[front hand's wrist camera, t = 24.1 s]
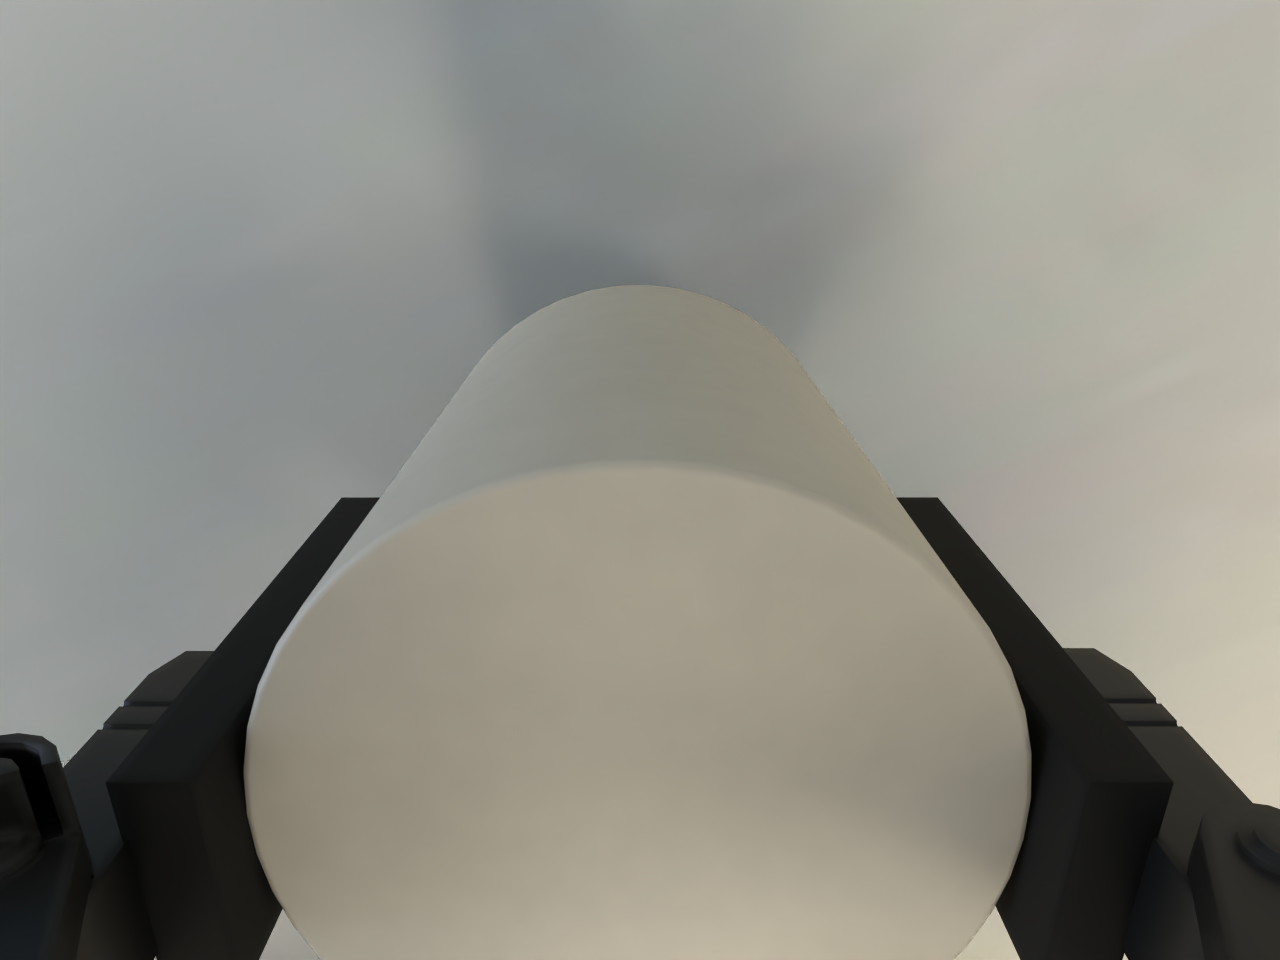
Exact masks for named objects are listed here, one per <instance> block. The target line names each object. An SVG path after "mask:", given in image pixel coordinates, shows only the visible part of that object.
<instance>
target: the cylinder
mask: <svg viewBox="0 0 1280 960" xmlns="http://www.w3.org/2000/svg"><path fill="white" fill-rule="evenodd" d="M1031 766H1032V752H1031V745H1030V739H1029V732H1028V726H1027V719H1026V713H1025V709H1024V706H1023V703H1022V700H1021V697H1020V694H1019V691H1018V688H1017V685H1016V682H1015V679H1014V676H1013V673H1012V670H1011V667H1010V666H1009V664H1008V662H1007V660H1006V658H1005V656H1004V654H1003V652H1002V651H1001V649H1000V647H999V645H998V643H997V641H996V639H995V637H994V636H993V634H992V632H991V630H990V628H989V627H988V625H987V624H986V622H985V621H984V620H983V618H982V617H981V615H980V614H979V613H978V611H977V610H976V608H975V607H974V606H973V604H972V603H971V601H970V600H969V599H968V597H967V596H966V594H965V593H964V592H963V590H962V589H961V588H960V586H959V585H958V583H957V582H956V581H955V579H954V578H953V576H952V575H951V574H950V572H949V571H948V569H947V568H946V567H945V565H944V564H943V562H942V561H941V560H940V558H939V557H938V555H937V554H936V553H935V551H934V550H933V548H932V547H931V546H930V544H929V543H928V541H927V540H926V539H925V537H924V536H923V534H922V533H921V532H920V530H919V529H918V528H917V526H916V525H915V523H914V522H913V521H912V519H911V518H910V516H909V515H908V514H907V512H906V511H905V509H904V508H903V507H902V505H901V504H900V502H899V501H898V500H897V498H896V497H895V495H894V494H893V493H892V491H891V490H890V488H889V487H888V486H887V484H886V483H885V481H884V480H883V479H882V477H881V476H880V474H879V473H878V472H877V470H876V469H875V468H874V466H873V465H872V463H871V462H870V461H869V459H868V458H867V456H866V455H865V454H864V452H863V451H862V449H861V448H860V447H859V445H858V444H857V442H856V441H855V440H854V438H853V437H852V435H851V434H850V433H849V431H848V430H847V428H846V427H845V426H844V424H843V423H842V421H841V420H840V419H839V417H838V416H837V414H836V413H835V412H834V410H833V409H832V408H831V406H830V405H829V403H828V402H827V401H826V399H825V398H824V396H823V395H822V394H821V392H820V391H819V389H818V388H817V387H816V385H815V384H814V382H813V381H812V380H811V378H810V377H809V375H808V374H807V373H806V371H805V370H804V369H803V367H802V366H801V365H800V363H799V362H798V361H797V359H796V358H795V357H794V355H793V354H792V353H791V352H790V351H789V350H788V349H787V348H786V347H785V346H784V345H783V344H782V343H781V342H780V341H779V340H778V339H777V338H776V337H775V336H774V335H773V334H772V333H771V332H770V331H768V330H767V329H766V328H764V327H763V326H762V325H760V324H759V323H758V322H756V321H755V320H754V319H752V318H751V317H749V316H747V315H746V314H744V313H742V312H740V311H738V310H737V309H735V308H733V307H731V306H729V305H728V304H725V303H723V302H720V301H718V300H715V299H712V298H710V297H707V296H705V295H702V294H698V293H694V292H690V291H686V290H682V289H678V288H672V287H663V286H654V285H620V286H613V287H607V288H601V289H594V290H590V291H586V292H583V293H580V294H577V295H573V296H570V297H567V298H564V299H562V300H559V301H557V302H555V303H553V304H551V305H548V306H546V307H544V308H542V309H540V310H538V311H537V312H535V313H534V314H532V315H530V316H529V317H527V318H526V319H524V320H522V321H521V322H519V323H518V324H516V325H515V326H514V327H513V328H512V329H511V330H509V331H508V332H507V333H506V334H505V335H503V336H502V337H501V338H500V339H499V340H497V341H496V343H495V344H494V345H493V346H492V347H491V348H490V349H489V350H488V352H487V353H486V354H485V355H484V356H483V357H482V358H481V359H480V361H479V362H478V363H477V365H476V366H475V367H474V369H473V370H472V372H471V373H470V374H469V376H468V377H467V378H466V380H465V381H464V383H463V384H462V385H461V387H460V388H459V390H458V391H457V392H456V394H455V395H454V396H453V398H452V399H451V401H450V402H449V403H448V405H447V406H446V407H445V409H444V410H443V412H442V413H441V414H440V416H439V417H438V418H437V420H436V421H435V423H434V424H433V425H432V427H431V428H430V430H429V431H428V432H427V434H426V435H425V436H424V438H423V439H422V441H421V442H420V443H419V445H418V446H417V447H416V449H415V450H414V452H413V453H412V454H411V456H410V457H409V459H408V460H407V461H406V463H405V464H404V465H403V467H402V468H401V470H400V471H399V472H398V474H397V475H396V476H395V478H394V479H393V481H392V482H391V483H390V485H389V486H388V488H387V489H386V490H385V492H384V493H383V494H382V496H381V497H380V499H379V500H378V501H377V503H376V504H375V505H374V507H373V508H372V510H371V511H370V512H369V514H368V515H367V517H366V518H365V519H364V521H363V522H362V523H361V525H360V526H359V528H358V529H357V530H356V532H355V533H354V534H353V536H352V537H351V539H350V540H349V541H348V543H347V544H346V546H345V547H344V548H343V550H342V551H341V552H340V554H339V555H338V557H337V558H336V559H335V561H334V562H333V563H332V565H331V566H330V568H329V569H328V570H327V572H326V573H325V575H324V576H323V577H322V579H321V580H320V581H319V583H318V584H317V586H316V587H315V588H314V590H313V591H312V592H311V594H310V595H309V597H308V598H307V599H306V601H305V602H304V603H303V605H302V606H301V608H300V609H299V611H298V612H297V614H296V615H295V617H294V618H293V620H292V621H291V623H290V625H289V626H288V628H287V629H286V631H285V632H284V634H283V635H282V637H281V638H280V640H279V641H278V643H277V644H276V646H275V649H274V651H273V653H272V655H271V657H270V660H269V662H268V664H267V666H266V669H265V671H264V673H263V675H262V677H261V680H260V682H259V684H258V687H257V691H256V695H255V699H254V703H253V706H252V710H251V714H250V718H249V722H248V726H247V734H246V746H245V758H244V786H245V798H246V810H247V817H248V821H249V825H250V829H251V833H252V837H253V841H254V845H255V849H256V853H257V856H258V858H259V861H260V863H261V865H262V868H263V870H264V872H265V875H266V877H267V880H268V882H269V884H270V887H271V889H272V891H273V893H274V895H275V896H276V898H277V900H278V901H279V903H280V904H281V906H282V908H283V909H284V911H285V913H286V914H287V916H288V918H289V919H290V921H291V923H292V924H293V926H294V927H295V928H296V930H297V931H298V932H299V933H300V934H301V936H302V937H303V938H304V939H305V941H306V942H307V943H308V944H309V946H310V947H311V948H312V949H313V951H314V952H315V953H316V954H317V955H318V957H319V958H320V959H321V960H954V959H955V958H956V957H957V956H958V955H959V954H960V953H961V952H962V950H963V949H964V948H965V947H966V946H967V945H968V944H969V942H970V941H971V940H972V938H973V937H974V936H975V934H976V933H977V931H978V930H979V929H980V927H981V926H982V925H983V923H984V922H985V920H986V919H987V918H988V916H989V915H990V914H991V912H992V910H993V908H994V906H995V905H996V903H997V901H998V899H999V897H1000V895H1001V893H1002V891H1003V889H1004V888H1005V886H1006V884H1007V882H1008V880H1009V878H1010V876H1011V873H1012V870H1013V868H1014V865H1015V862H1016V859H1017V856H1018V853H1019V851H1020V848H1021V845H1022V842H1023V839H1024V834H1025V829H1026V823H1027V818H1028V812H1029V807H1030V801H1031Z"/></svg>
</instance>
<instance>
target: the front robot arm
mask: <svg viewBox="0 0 1280 960" xmlns="http://www.w3.org/2000/svg"><path fill="white" fill-rule="evenodd" d="M379 499H380V498H341V499H340V500H339V502H338V503H337V504H336V505H335V506H334V508H333V509H332V510H331V511H330V512H329V514H328V515H327V516H326V517H325V518H324V520H323V521H322V522H321V523H320V524H319V526H318V527H317V528H316V529H315V530H314V532H313V533H312V534H311V535H310V537H309V538H308V539H307V540H306V541H305V543H304V544H303V545H302V546H301V547H300V549H299V550H298V551H297V552H296V553H295V555H294V556H293V557H292V558H291V559H290V561H289V562H288V563H287V564H286V565H285V567H284V568H283V569H282V570H281V571H280V573H279V574H278V575H277V576H276V577H275V579H274V580H273V581H272V582H271V583H270V585H269V586H268V587H267V588H266V590H265V591H264V592H263V593H262V594H261V596H260V597H259V598H258V599H257V600H256V602H255V603H254V604H253V605H252V606H251V608H250V609H249V610H248V611H247V612H246V614H245V615H244V616H243V617H242V618H241V620H240V621H239V622H238V623H237V624H236V626H235V627H234V628H233V629H232V630H231V632H230V633H229V634H228V635H227V636H226V638H225V639H224V640H223V641H222V643H221V644H220V645H219V646H218V647H217V649H216V650H215V651H185V652H184V653H182V654H181V655H179V656H177V657H176V658H174V659H173V660H171V661H169V662H168V663H166V664H165V665H163V666H161V667H160V668H158V669H157V670H155V671H153V672H152V673H150V674H149V675H148V676H147V677H146V678H145V679H144V680H143V681H142V682H141V683H140V685H139V686H138V687H137V688H136V689H135V690H134V691H133V692H132V693H131V694H130V695H129V697H128V698H127V699H126V700H125V701H124V706H123V707H118V709H117V710H116V711H115V712H114V713H113V714H112V715H111V716H110V717H109V718H108V719H107V721H106V722H105V723H104V727H103V729H102V730H97V731H96V733H95V734H94V735H93V736H92V737H91V738H90V739H89V740H88V741H87V742H86V743H85V745H84V746H83V747H82V748H81V749H80V750H79V751H78V752H77V753H76V754H75V755H74V757H73V758H72V759H71V760H70V761H69V762H68V763H67V764H66V765H65V766H64V767H62V764H61V761H60V758H59V754H58V751H57V748H56V746H55V745H54V744H52V743H51V742H49V741H48V740H47V739H45V738H44V737H42V736H36V735H28V734H21V733H16V734H8V735H0V960H154V958H155V956H156V958H157V960H259V958H260V956H261V954H262V952H263V950H264V947H265V945H266V943H267V941H268V939H269V937H270V935H271V932H272V930H273V928H274V926H275V924H276V922H277V919H278V917H279V915H280V913H281V911H282V909H283V908H282V906H281V904H280V903H279V901H278V900H277V898H276V896H275V895H274V893H273V891H272V889H271V887H270V884H269V882H268V880H267V877H266V875H265V872H264V870H263V868H262V865H261V863H260V861H259V858H258V856H257V853H256V849H255V845H254V841H253V837H252V833H251V829H250V825H249V821H248V817H247V810H246V798H245V786H244V758H245V746H246V734H247V726H248V722H249V718H250V714H251V710H252V706H253V703H254V699H255V695H256V691H257V687H258V684H259V682H260V680H261V677H262V675H263V673H264V671H265V669H266V666H267V664H268V662H269V660H270V657H271V655H272V653H273V651H274V649H275V646H276V644H277V643H278V641H279V640H280V638H281V637H282V635H283V634H284V632H285V631H286V629H287V628H288V626H289V625H290V623H291V621H292V620H293V618H294V617H295V615H296V614H297V612H298V611H299V609H300V608H301V606H302V605H303V603H304V602H305V601H306V599H307V598H308V597H309V595H310V594H311V592H312V591H313V590H314V588H315V587H316V586H317V584H318V583H319V581H320V580H321V579H322V577H323V576H324V575H325V573H326V572H327V570H328V569H329V568H330V566H331V565H332V563H333V562H334V561H335V559H336V558H337V557H338V555H339V554H340V552H341V551H342V550H343V548H344V547H345V546H346V544H347V543H348V541H349V540H350V539H351V537H352V536H353V534H354V533H355V532H356V530H357V529H358V528H359V526H360V525H361V523H362V522H363V521H364V519H365V518H366V517H367V515H368V514H369V512H370V511H371V510H372V508H373V507H374V505H375V504H376V503H377V501H378V500H379ZM897 500H898V501H899V502H900V504H901V505H902V507H903V508H904V509H905V511H906V512H907V514H908V515H909V516H910V518H911V519H912V521H913V522H914V523H915V525H916V526H917V528H918V529H919V530H920V532H921V533H922V534H923V536H924V537H925V539H926V540H927V541H928V543H929V544H930V546H931V547H932V548H933V550H934V551H935V553H936V554H937V555H938V557H939V558H940V560H941V561H942V562H943V564H944V565H945V567H946V568H947V569H948V571H949V572H950V574H951V575H952V576H953V578H954V579H955V581H956V582H957V583H958V585H959V586H960V588H961V589H962V590H963V592H964V593H965V594H966V596H967V597H968V599H969V600H970V601H971V603H972V604H973V606H974V607H975V608H976V610H977V611H978V613H979V614H980V615H981V617H982V618H983V620H984V621H985V622H986V624H987V625H988V627H989V628H990V630H991V632H992V634H993V636H994V637H995V639H996V641H997V643H998V645H999V647H1000V649H1001V651H1002V652H1003V654H1004V656H1005V658H1006V660H1007V662H1008V664H1009V666H1010V667H1011V670H1012V673H1013V676H1014V679H1015V682H1016V685H1017V688H1018V691H1019V694H1020V697H1021V700H1022V703H1023V706H1024V709H1025V713H1026V719H1027V726H1028V732H1029V739H1030V745H1031V752H1032V766H1031V801H1030V807H1029V812H1028V818H1027V823H1026V829H1025V834H1024V839H1023V842H1022V845H1021V848H1020V851H1019V853H1018V856H1017V859H1016V862H1015V865H1014V868H1013V870H1012V873H1011V876H1010V878H1009V880H1008V882H1007V884H1006V886H1005V888H1004V889H1003V891H1002V893H1001V895H1000V897H999V899H998V901H997V903H996V905H995V906H996V908H997V910H998V912H999V914H1000V916H1001V919H1002V921H1003V923H1004V925H1005V927H1006V929H1007V931H1008V934H1009V936H1010V938H1011V940H1012V942H1013V944H1014V947H1015V949H1016V951H1017V953H1018V955H1019V957H1020V960H1122V959H1123V956H1124V953H1125V955H1126V956H1127V958H1128V960H1280V809H1278V808H1275V807H1272V806H1269V805H1262V804H1255V803H1252V802H1251V801H1250V800H1249V799H1248V798H1247V796H1246V795H1245V794H1244V793H1243V792H1242V791H1241V790H1240V789H1239V788H1238V787H1237V786H1236V785H1235V783H1234V782H1233V781H1232V780H1231V779H1230V778H1229V777H1228V776H1227V775H1226V774H1225V773H1224V771H1223V770H1222V769H1221V768H1220V767H1219V766H1218V765H1217V764H1216V763H1215V762H1214V761H1213V760H1212V758H1211V757H1210V756H1209V755H1208V754H1207V753H1206V752H1205V751H1204V750H1203V749H1202V748H1201V747H1200V745H1199V744H1198V743H1197V742H1196V741H1195V740H1194V739H1193V738H1192V737H1191V736H1190V735H1189V734H1188V732H1187V731H1186V730H1185V729H1184V728H1183V727H1178V726H1177V721H1176V719H1175V718H1174V717H1173V716H1172V715H1171V714H1170V713H1169V712H1168V711H1167V710H1166V709H1165V708H1164V706H1163V705H1162V704H1157V703H1156V698H1155V697H1154V696H1153V695H1152V693H1151V692H1150V691H1149V690H1148V689H1147V688H1146V687H1145V686H1144V685H1143V684H1142V683H1141V682H1140V680H1139V679H1138V678H1137V677H1136V676H1135V675H1134V674H1133V673H1132V672H1131V671H1130V670H1128V669H1126V668H1125V667H1123V666H1122V665H1120V664H1118V663H1117V662H1115V661H1114V660H1112V659H1110V658H1109V657H1107V656H1106V655H1104V654H1102V653H1101V652H1099V651H1097V650H1096V649H1094V648H1062V647H1061V646H1060V644H1059V643H1058V642H1057V641H1056V640H1055V638H1054V637H1053V636H1052V635H1051V634H1050V632H1049V631H1048V630H1047V629H1046V628H1045V626H1044V625H1043V624H1042V623H1041V622H1040V620H1039V619H1038V618H1037V617H1036V616H1035V614H1034V613H1033V612H1032V611H1031V610H1030V608H1029V607H1028V606H1027V605H1026V604H1025V602H1024V601H1023V600H1022V599H1021V597H1020V596H1019V595H1018V594H1017V593H1016V591H1015V590H1014V589H1013V588H1012V587H1011V585H1010V584H1009V583H1008V582H1007V581H1006V579H1005V578H1004V577H1003V576H1002V575H1001V573H1000V572H999V571H998V570H997V569H996V567H995V566H994V565H993V564H992V563H991V561H990V560H989V559H988V558H987V557H986V555H985V554H984V553H983V552H982V550H981V549H980V548H979V547H978V546H977V544H976V543H975V542H974V541H973V540H972V538H971V537H970V536H969V535H968V534H967V532H966V531H965V530H964V529H963V528H962V526H961V525H960V524H959V523H958V522H957V520H956V519H955V518H954V517H953V516H952V514H951V513H950V512H949V511H948V510H947V508H946V507H945V506H944V505H943V503H942V502H941V501H940V500H939V499H938V498H897Z"/></svg>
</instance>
